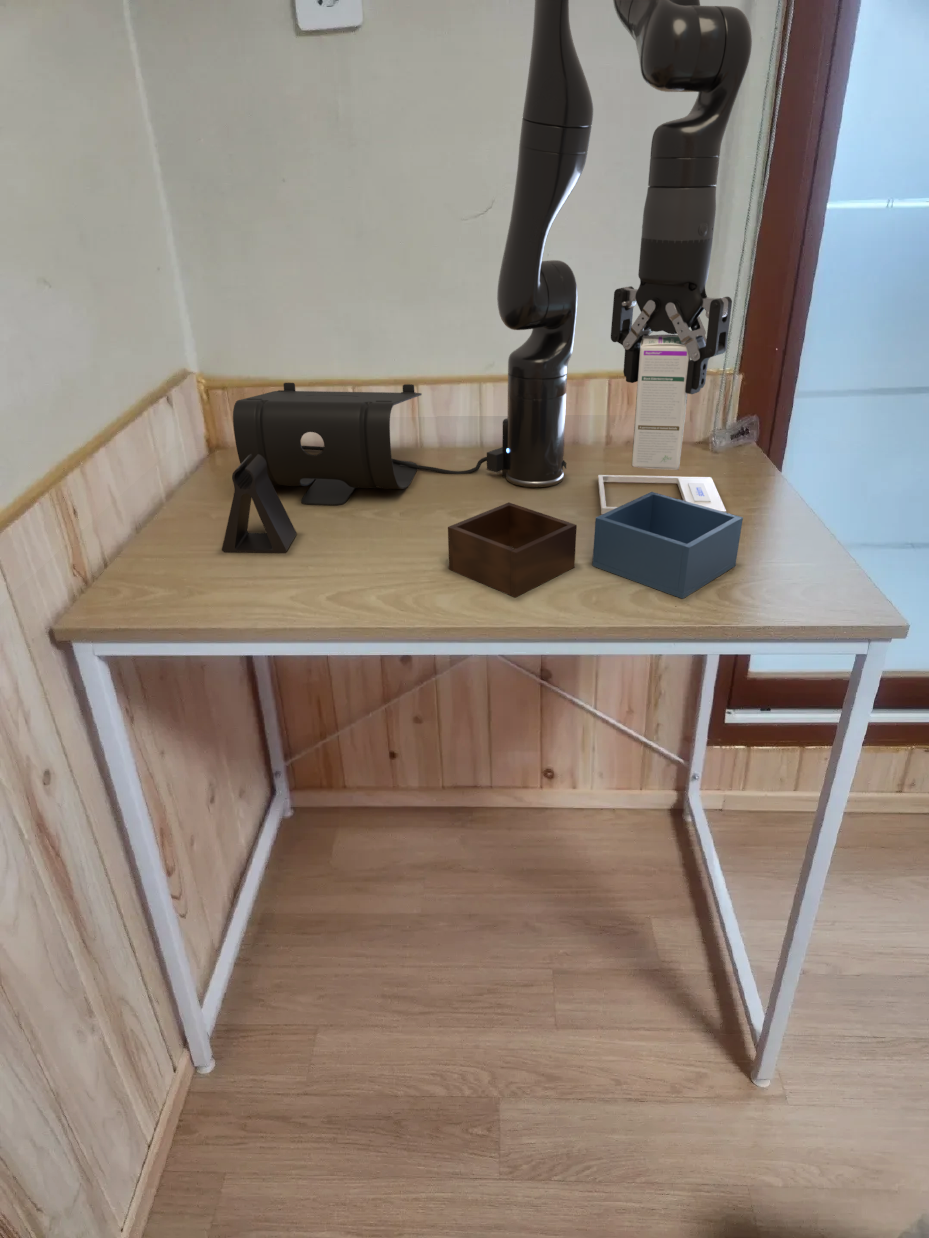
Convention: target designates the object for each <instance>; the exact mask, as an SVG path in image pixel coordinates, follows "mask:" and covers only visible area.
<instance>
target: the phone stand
mask: <svg viewBox="0 0 929 1238" xmlns="http://www.w3.org/2000/svg"><path fill="white" fill-rule="evenodd" d="M251 457H252V454H250V455H249V456H248V457H247V458H246V459H245V460H244V461H243V462H242V463H241V464H240V463H239V465H238V466H237V468H236V469H235V470H234V471H233V473H232V475H231V477H232V478H231V479H232V484H233V487H234V488H233V489H234V490H233V491H234V492H233V497H232V501H231V507H230V511H229V515H228V520H227V524H226V529H225V533H224V538H223V543H222V547H221V551H222V552H223V553H240V554H241V553H244V554H245V553H248V554H249V553H252V554H253V553H254V552H255V553H256V554H286V553H287V551H288V550H289V548H290V546H291V545H292V543H293V541H294V540H295V538H296V536H297V535H298V533H297V531H296V529H295V526H294V525H293V523H292V521H291V518H290V516H289V515H288V513H287V511H286V509H285V506H284V505H283V503H282V501H281V499H280V496H279V495H278V493H277V491H276V488H275V487H274V485H272V483H271V481H270V479H269V477H268V474H267V463H266V460H265V459H264V458H263V457H262V456H261V455H259V454H258V455H257V456H256V457H255V458H254V459H253V460H252V461H251V463H250V464H249V465H247V461H248V460H249V459H250V458H251ZM252 501H253V504H254V507H255V509H256V512H257V514H258V517H259V519H260V522H261V523H262V526H263V528H264V531H265V532H249V531H248V528H249V522H250V514H251V513H250V512H251V505H252Z"/></svg>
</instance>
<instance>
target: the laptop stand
mask: <svg viewBox="0 0 929 1238" xmlns="http://www.w3.org/2000/svg"><path fill="white" fill-rule="evenodd" d="M421 396H422V393H421V392H416V391H415V385H414V384H413V383H412V384H411V383H407V384H406V383H404V384H403V385H402V391H401V392H385V391H384V392H383V391H382V392H379V391H378V392H377V391H323V390H322V391H319V390H318V391H317V390H315V391H314V390H313V391H311V390H310V391H309V390H307V391H306V390H296V384H295V382H284V383H283V390H280V389H278V390H274V391H273V390H272V391H270V392H269V391H268V392H266V393H262V394H257V395H253V396H250V397H246V398H242V399H238V400H236V401H235V403H234V406H233V411H232V424H233V426H232V427H233V433H234V440H235V446H236V452H237V455H238V462H239V465H240V464H241V463H242V462H243V461H244V460H245V459H246V458H247V457H248V456H249V455H250V454H252V457H251V458H250V459H249V460H248V461H247V465H249V464H250V463H251V461H252V460H253V459H254V458H255V457H256V456H257V455H258V454H259V455H261V456H262V457H263V458H264V459H265V460H266V463H267V474H268V477H269V479H270V481H271V483H272V485H273V486H284V487H308V486H310V487H309V488H308V489H307V491H306V492H305V493H304V495H303V496H302V497H301V499H300V502H301V504H303V505H306V506H342V505H344V504H346V503H347V502H348V500H349V499H350V497H351V496H352V495H353V493H354V492H355V491H356V489H357V488H359V489H360V488H361V489H377V488H379V489H387V490H388V489H389V490H390V489H391V490H405V489H406V488H408V487H409V486H410V485H411V484H412V482H413V480H414V477H415V476H416V474H417V471H418V469H415V468H411V467H408V466H405V465H402V464H396V463H392V459H393V457H392V443H391V413H392V410H393V407H394V406H396V405H398V404H402V403H404V402H406V401H409V400H412V399H415V398H418V397H421ZM307 433H315V434H317V435H319V436H320V438H321V439H322V442H323V447H324V449H323V451H321V452H319V453H318V454H311V453H308V451H306V450H303V448H302V446H303V445H302V439H303V436H304V435H305V434H307ZM402 461H403V462H407V463H410V464H415V465H418V464H417V463H416V462H413V461H408V460H402Z"/></svg>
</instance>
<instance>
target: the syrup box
mask: <svg viewBox="0 0 929 1238" xmlns="http://www.w3.org/2000/svg"><path fill="white" fill-rule="evenodd" d="M689 360H691V357H690V355H689V353H688V351H687V348H686V346H685V344H684V343H682V342H681V341H680V339H679V336H678V334H649V335H648V336H644V335H643V337H642V341H641V346H640V357H639V371H638V381H637V383H636V399H635V414H634V424H633V439H632V440H633V441H632V455H631V467H632V468H639V469H646V470H647V469H649V470H650V469H651V470H666V471H667V470H668V471H669V470H670V471H671V470H672V471H679V470H680V469H679V468H680V464H681V457H682V456H681V455H682V447H683V439H684V429H685V421H686V412H687V403H688V402H687V401H688V393H686V392H685V388H686V379H687V370H688V361H689Z"/></svg>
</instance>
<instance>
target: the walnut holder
mask: <svg viewBox="0 0 929 1238" xmlns="http://www.w3.org/2000/svg"><path fill="white" fill-rule="evenodd" d="M577 527H578V525H577V524H575V523H572V522H569V521H566V520H564V519H560V518H557V517H554V516H551V515H548V514H545V513H542V512H539V511H536V510H534V509H531V508H527V507H524V506H521V505H518V504H515V503H512V502H506V503H504V504H501V505H498V506H497V507H494V508H491V509H489V510H486V511H484V512H482V513H479V514H477V515H474V516H472V517H469V518H467V519H464V520H462V521H459V522H456V523H454V524H452V525H449V526H447V545H448V546H447V547H448V548H447V549H448V570H449V571H452V572H454V573H457V574H459V575H461V576H463V577H466V578H468V579H471V580H473V581H475V582H478V583H480V584H483V585H484V586H487V587H490V588H492V589H494V590H497V591H499V592H501V593H504V594H506V595H509V596H511V597H513V598H517V597H519V596H521V595H523V594H525V593H527V592H529V591H531V590H533V589H535V588H536V587H538V586H541V585H543V584H545V583H547V582H549V581H551V580H552V579H554V578H556V577H558V576H561V575H562V574H564V573H566V572H568V571H570V570H572V569H574V568H575V566H576V565H575V564H576V547H577V546H576V544H577Z"/></svg>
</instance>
